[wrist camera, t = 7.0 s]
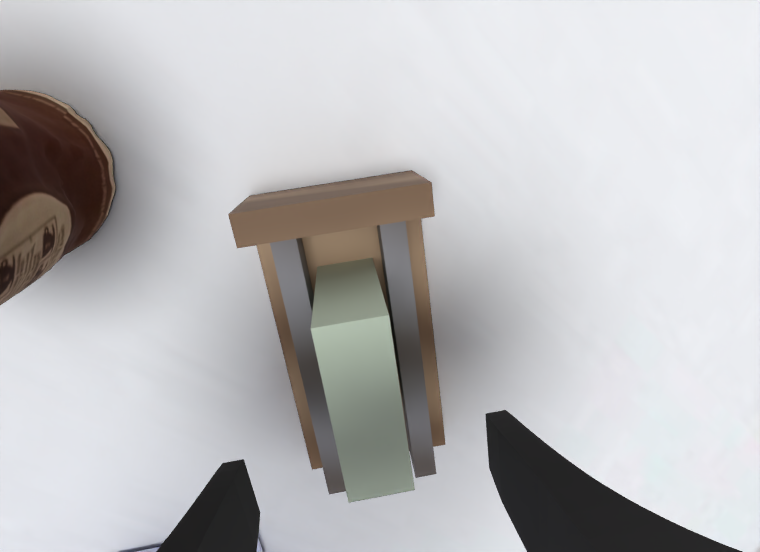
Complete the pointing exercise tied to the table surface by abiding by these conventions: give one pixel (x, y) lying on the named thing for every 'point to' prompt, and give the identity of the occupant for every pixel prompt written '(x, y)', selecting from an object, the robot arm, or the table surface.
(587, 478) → the robot arm
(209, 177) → the table surface
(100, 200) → the coffee cup
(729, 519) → the table surface
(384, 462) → the door panel
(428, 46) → the table surface
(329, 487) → the track sill
